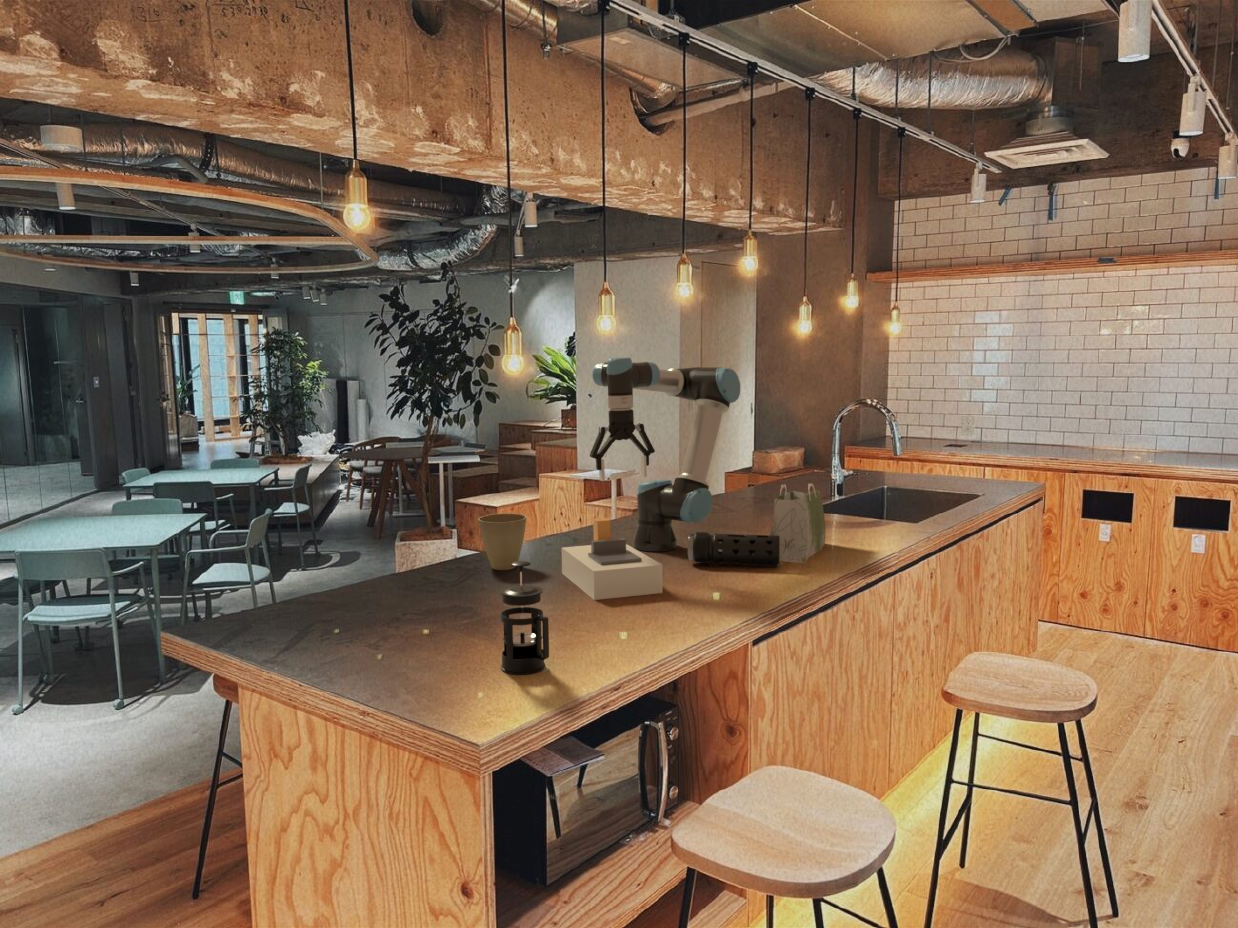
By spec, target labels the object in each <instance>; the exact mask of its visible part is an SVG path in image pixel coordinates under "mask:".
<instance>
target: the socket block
mask: <svg viewBox="0 0 1238 928" xmlns="http://www.w3.org/2000/svg"><path fill="white" fill-rule="evenodd" d="M626 550H628V551H630V552H632V553H633V554H635V555H637V556H639V557H640V558H641V561H636V562H626V563H615V564H604V565H601V564H599V563H598V562H596V561H595V560H594V559H592V558H591V557H589V556H588V553H591V544H588V545H576V546H565V547H561V573H562V575H564V577H566V578H567V579H568V580H570V582H572V583H573V584H574V585H575V586H576V587H577V588H579V589H580V590H581V591H582V592H584V593H585V594H586V595H587V596H589V597H590V598H591V599H592V600H593V601H597V600H608V599H618V598H626V597H637V596H645V595H654V594H656V595H657V594H663V591H664V590H663V564H662V563H660V562H659V561H657V560H656V559H653V558H651V557H650V556H648V555H646V554H644V553H643V552H641V551H640V550H638V549H635V548H633V546H631V545H629V544H627V543H626Z"/></svg>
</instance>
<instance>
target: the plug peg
mask: <svg viewBox="0 0 1238 928" xmlns="http://www.w3.org/2000/svg"><path fill="white" fill-rule="evenodd" d="M592 521H593V541H596V540H609V539H612V538H611V536H612V535H611V519H609V518H607V517H602V518H598V517H597V518H593V520H592Z"/></svg>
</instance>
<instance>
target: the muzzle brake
mask: <svg viewBox="0 0 1238 928" xmlns="http://www.w3.org/2000/svg"><path fill="white" fill-rule="evenodd" d="M779 550H780V537H779V535H771V534H764V535H763V534H738V533H737V534H730V533H714V534H711V533H710V532H705V531H700V532H699V531H696V532H694V533H689V534H688V539H687V557H688V558H687V559H688V561H693V562H695V563H708V566H720V565H721V564H733V565H735V564H736V565H737V566H739V567H740V566H747V567H767V568H768V567H769V568H778V566H779V565H780V561H779Z"/></svg>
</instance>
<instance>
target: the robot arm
mask: <svg viewBox="0 0 1238 928" xmlns="http://www.w3.org/2000/svg"><path fill="white" fill-rule="evenodd" d="M591 377H592V380H593V382H594V383H595V385H597V386H599V387H607V406H608V409H610V410H609V411H608V426H601V425H600V426H598V434H597V437H596V439H595V441H594V444H593V446H592V449H591V451H590V453H589V457H590V458H592V459H595V469H596V470H597V471H599V473H598V474H599V481H601V482H605V481H606V476H605V473H606V472H605V459H604V456H605V455H606V453H607V452H608V450H609V449H610V448H611V446H612V445H613V443H614V442H615V441H622V440H626V441H627V440H630V441H631V442H632V443H633V445H634V446H636V447H637V449H638V450H639V451H640V452H641V455H640V473H641V475H640V476H641V477H642V478H647V477H648V476H647V475H648V474H647V466H649V465H650V456H651V455H652V454H654V453H655V452H656V451H655V448H654V446H653V444H652V443H651V441H650V438H649V437H648V434H647V432H646V431H645V424H644V423H637V424H635V423H634V421H635V420H634V419H635V418H634V410H633V408H634V390H640V391H641V390H642V391H649V392H650V391H652V392H657V393H658V392H660V393H665V394H666V395H667V396H669V397H675V398H681V399H685V400H688V401H694V403H695V405H696V406H697V409H696V410H697V411H696V414H695V419H694V421H693V427H692V429H691V430H692V431H691V434H690V438H689V442H688V446H687V450H686V453H685V457H684V461H683V465H682V469H681V473H680V474H679V475H678V476H676V477H675V478H674V481H672V480H671V479H668V478H667V479H657V480H656V479H655V480H649V481H648V480H647V481H642V482H640V483H639V484H638V487H637V494H636V496H637V500H636V501H637V526H636V530H635V533H634V536H633V540H632V548H634V549H636V550H638V551H643V552H644V551H645V552H666V551H671V550H672V551H673V550H675V549H676V548H677V547H678V540H677V537H676V533H675V530H674V528H673V521H679V522H683V523H687V524H689V523H700V522H702V521H703V520H705V519H706V518H708V516H709V514H710V512H711V510H712V509H713V499H712V498H713V495H712V492H711V491H710V490H709V489H710V485H709V483H708V482H707V478H708V473H709V469H710V467H711V462H712V457H713V455H714V450H715V446H716V441H717V437H718V433H719V430H720V427H721V423H722V418H723V415H724V413H726V412H728V411H729V410H730V409H729V408H730V405H731V404H733V403H734V402H736V401H738V399H739V397H740V394H741V381H740V379H739V376H738V374H737V372H736V371H735V370H734V369H733V368H730V367H723V366H717V367H711V366H710V367H699V366H696V367H685V368H675V367H674V368H673V367H672V368H671V367H670V368H669V369H667V370H666V369H663V368H662V369H661V368H659V367H658V365H657V364H656V363H655V362H652V361H644V362H632V358H630V357H629V356H628V357H611V358H608V360H607V361H605V362H598V363H597V364H596V365H594V367H593V369H592V376H591ZM634 431H636V432H638V434H639V436H640V437H641V439H642V441H643V443H644V445H643V444H642V443H641V441H640V440H639V439H638V438H637V436H635V434H634ZM608 432H609V435H608V437H607V439H606V441H604V438H605V435H606V434H607V433H608ZM603 441H604V444H603V445H602V443H603ZM601 445H602V446H601Z"/></svg>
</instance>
